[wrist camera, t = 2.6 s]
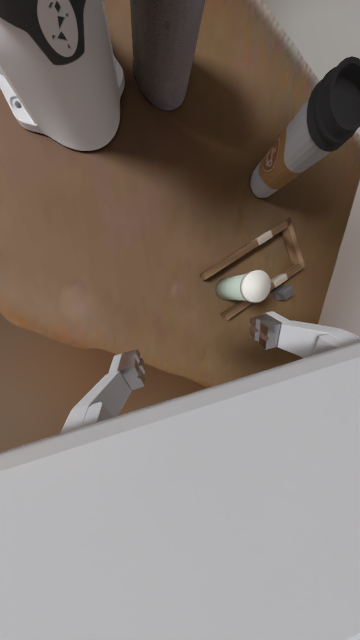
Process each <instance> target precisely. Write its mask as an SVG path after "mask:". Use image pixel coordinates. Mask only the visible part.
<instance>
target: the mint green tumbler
mask: <svg viewBox="0 0 360 640" xmlns="http://www.w3.org/2000/svg"><path fill="white" fill-rule="evenodd" d="M270 288H271V281H270V278H269V276H268V275H267V273H265V272H264V271H261V270H256V271H252V272H249V273H247V274H243V275H239V276H234V277H229V278H225V279H221V280H220V281H219V282H218V283H217V285H216V294H217V296H218V297H219V298H221V299H225V300H243V301H249V302H260V301H262V300H264V299H265V298H266V297H267V296H268V294H269V292H270Z"/></svg>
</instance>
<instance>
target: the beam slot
mask: <svg viewBox="0 0 360 640" xmlns="http://www.w3.org/2000/svg"><path fill="white" fill-rule="evenodd" d="M279 232H281V233H282V236H283V239H284V242H285V245H286V248H287V251H288V254H289V257H290V260H291V263H292V266H291V267H289V268H288V269H286V270H285V271H283V272H282V273H280V274H279V275H277V276H276V277H274V278H273V279H271V280H270V281H271V288H270V291H271V290H272V289H274V288H276V287H277V286H279V285H280V284H282V283H283V282H285V281H286V280H287V279H288V278H290V277H291V276H293V275H294V274H296V273H297V272H298V271H300V270H301V269H303V268H304V267H305V264H304V261H303V258H302V254H301V251H300V248H299V245H298V242H297V238H296V235H295V232H294V229H293V226H292V222H291V219H290V218H289V219H287V220H285V221H283V222H281V223H280V224H278V225H277V226H275V227H274V228H272V229H270V230H269V231H267V232H266V233H264V234H262V235H261V236H259V237H257V238H256V239H254V240H253V241H251V242H250V243H248V244H247V245H245V246H244V247H242V248H241V249H239V250H237V251H236V252H234V253H233V254H231V255H230V256H228V257H226V258H225V259H223V260H222V261H220V262H219V263H217V264H215V265H214V266H212V267H211V268H209V269H207V270H206V271H204V272H203V273H201V274H200V277H201V278H202V280H206V279H207V278H209V277H211V276H212V275H214V274H215V273H217V272H218V271H220V270H221V269H223V268H225V267H226V266H228V265H229V264H231V263H232V262H234V261H235V260H237V259H239V258H240V257H242V256H243V255H245V254H246V253H248V252H249V251H251V250H253V249H254V248H256V247H257V246H259V245H261V244H262V243H264V242H266V241H267V240H269V239H270V238H272V237H273V236H274V235H276V234H277V233H279ZM293 294H295V293H294V290H293V287H292V285H288V286H280V287H279V288H277V289H276V290H274V291H273V295H274V297H275V300H286V299H288V298H289V297H291V296H292V295H293ZM252 303H253V302H249V301H243V300H241V301H239V302H238V303H236V304H235V305H233V306H232V307H230V308H229V309H227V310H226V311H224V312H223V313H221V316H222V318H223V319H224V320H229V319H230V318H231V317H233V316H234V315H236V314H237V313H239V312H240V311H242V310H243V309H245V308H246V307H247V306H249V305H250V304H252Z"/></svg>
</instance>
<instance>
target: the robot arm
mask: <svg viewBox="0 0 360 640" xmlns="http://www.w3.org/2000/svg"><path fill="white" fill-rule="evenodd" d="M124 86H125V78H124V73H123V69H122V67H121V66H120V64H119V63H118V61H117V60H116V58H115V57H114V55H113V50H112V44H111V39H110V34H109V28H108V23H107V18H106V12H105V7H104V2H103V0H0V88H1V90H2V92H3V94H4V96H5V98H6V100H7V102H8V104H9V106H10V108H11V110H12V112H13V114H14V116H15V117H16V119H17V120H18V122H19V123H20V125H21V126H22V127H24V128H25V129H27V130H30V131H33V132H38V133H42V134H45V135H47V136H49V137H51V138H52V139H54V140H55V141H57V142H59V143H60V144H62V145H64V146H66V147H69V148H72V149H75V150H80V151H92V150H97V149H99V148H102V147H103V146H105V145H107V144H108V143H109V142H110V141H111V140H112V138H113V137H114V136H115V134H116V132H117V129H118V126H119V121H120V97H121V95H122V92H123V90H124ZM20 107H21V108H20ZM250 324H251V326H250V328H249V332H250V335H251V337H252V338H253V339H254V340H256V341H259V344H260V345H261V346H262V347H263V348H264V349H265V350H267V349H270V348H274V347H278V348H281V349H283V350H286V351H288V352H291V353H293V354H296V355H298V356H300V357H303V359H300V360H297V361H294V362H290V363H287V364H284V365H281V366H277V367H274V368H271V369H268V370H264V371H261V372H258V373H255V374H252V375H248V376H245V377H242V378H239V379H235V380H232V381H229V382H226V383H222V384H219V385H216V386H213V387H210V388H206V389H203V390H200V391H197V392H193V393H190V394H187V395H184V396H181V397H178V398H174V399H171V400H168V401H164V402H161V403H158V404H155V405H152V406H148V407H145V408H142V409H139V410H135V411H132V412H129V413H126V414H123V415H119V416H117V415H118V414H119V412H120V410H121V408H122V407H123V405H124V403H125V401H126V400H127V398H128V396H129V395H130V393H131V390H134V389H137V388H140V387H143V386H145V377H144V375H143V374H144V373H145V364H144V361H143V359H142V358H140V352H139V350H133V351H129V352H125V353H122V354H118V355H115V356H114V358H113V361H112V364H111V367H110V370H109V373H108V374H107V375H105V376H104V377H103V378H102V379H101V380H100V381H99V382H98V383H97V384H96V385H95V386H94V387H93V388H92V389H91V390H90V391H89V392H88V394H87V395H86V396H85V397H84V398H83V399H82V400H81V401H80V402H79V403H78V404H77V405H76V406H75V407H74V408H73V409H72V410H71V412H70V414H69V416H68V418H67V420H66V422H65V425H64V427H63V429H62V431H61V433H60V434H58V435H55V436H52V437H48V438H45V439H42V440H39V441H35V442H32V443H29V444H26V445H23V446H20V447H16V448H13V449H10V450H6V451H3V452H0V640H360V336H357V335H355V334H353V333H350V332H348V331H346V330H344V329H341V328H334V327H329V326H323V325H317V324H311V323H305V322H299V321H290V320H288V319H286V318H284V317H282V316H280V315H279V314H277V313H275V312H272V311H270V312H267V313H264V314H261V315H258V316H254V317H251V318H250Z"/></svg>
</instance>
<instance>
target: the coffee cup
mask: <svg viewBox="0 0 360 640" xmlns="http://www.w3.org/2000/svg"><path fill="white" fill-rule="evenodd" d="M359 127H360V59H359V58H356V57H349V58H345V59H344V60H343V61H342V62H340V64H339V65H338V66H337V67H335V68H333V69H332V70H330V71H329V72H328V73H327V74H326V75H325V76H324V78H323V79H322V80H321V81H320V82H319V83H318V84H317V85H316V86H315V88H314V89H313V91H312V93H311V95H310V97H309V98H308V99H307V101H306V102H305V103H304V105H303V106H302V107H301V109H300V110H299V111H298V113H297V114H296V115H295V117H294V118H293V119H292V121H291V122H290V123H289V124H288V125H287V126H286V128H285V129H284V130H283V132H282V133H281V134H280V136H279V137H278V138H277V140H276V141H275V142H274V144H273V145H272V146H271V148H270V149H269V150H268V152H267V153H266V154H265V156H264V157H263V159H262V160H261V162H260V163H259V164H258V166H257V167H256V168H255V170H254V171H253V174H252V177H251V182H250V183H251V189H252V192H253V193H254V194H255V196H257V197H259V198H266V197H269V196H270V195H271V194H273V193H274V192H276V191H277V190H278V189H280V188H282V187H283V186H285V185H286V184H288V183H289V182H290V181H292V180H293V179H295V178H296V177H298V176H299V175H300V174H302V173H303V172H305V171H306V170H307V169H308V168H309V167H311V166H312V165H313V164H315V163H316V162H318V161H319V160H320V159H322V158H323V157H325V156H326V155H327V154H329V153H330V152H332V151H334V150H337V149H338V148H339V147H340V146H342V145H343V144H344V143H345V142H346V141H347V140H348V139H349V138H351V137H352V136H353V134H354V133H355V131H356V130H357V129H358V128H359Z"/></svg>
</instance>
